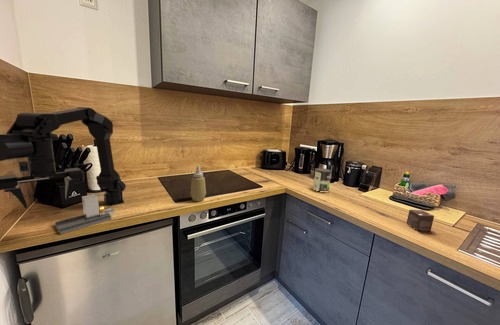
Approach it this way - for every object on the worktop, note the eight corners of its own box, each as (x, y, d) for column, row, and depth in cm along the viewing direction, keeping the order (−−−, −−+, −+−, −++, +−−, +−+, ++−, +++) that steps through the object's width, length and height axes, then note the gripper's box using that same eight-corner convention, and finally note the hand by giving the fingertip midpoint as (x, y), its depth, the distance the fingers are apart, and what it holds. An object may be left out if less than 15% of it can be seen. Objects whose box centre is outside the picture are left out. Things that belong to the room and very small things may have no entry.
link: (110, 209, 84) (108, 190, 83) (114, 213, 81) (113, 193, 80) (83, 216, 77) (81, 196, 76) (87, 220, 74) (85, 199, 73)
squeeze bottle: (199, 195, 109) (200, 164, 106) (209, 199, 104) (209, 166, 101) (187, 199, 103) (186, 166, 100) (196, 204, 98) (196, 168, 95)
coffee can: (330, 190, 132) (333, 169, 130) (326, 194, 124) (329, 172, 121) (315, 186, 138) (318, 167, 136) (310, 190, 130) (312, 169, 128)
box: (418, 224, 89) (422, 209, 88) (431, 232, 83) (435, 215, 82) (405, 224, 89) (409, 209, 87) (417, 231, 83) (421, 215, 81)
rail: (103, 212, 84) (102, 202, 83) (111, 219, 79) (110, 208, 78) (54, 225, 72) (53, 213, 71) (60, 234, 67) (58, 222, 66)
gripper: (73, 150, 72) (78, 190, 75) (-11, 154, 57) (-1, 204, 60) (82, 154, 66) (87, 198, 68) (-10, 160, 51) (1, 216, 54)
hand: (47, 203), depth 63 cm, fingers open, 9 cm apart
